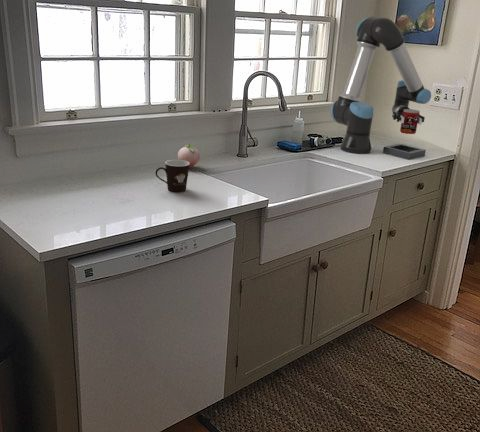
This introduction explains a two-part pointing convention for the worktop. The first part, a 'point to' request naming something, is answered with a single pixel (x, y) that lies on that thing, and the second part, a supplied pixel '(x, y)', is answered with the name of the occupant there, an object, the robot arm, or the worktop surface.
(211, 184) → the worktop surface
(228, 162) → the worktop surface
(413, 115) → the canned food
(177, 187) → the coffee mug
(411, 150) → the square holder
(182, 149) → the decorative fruit
